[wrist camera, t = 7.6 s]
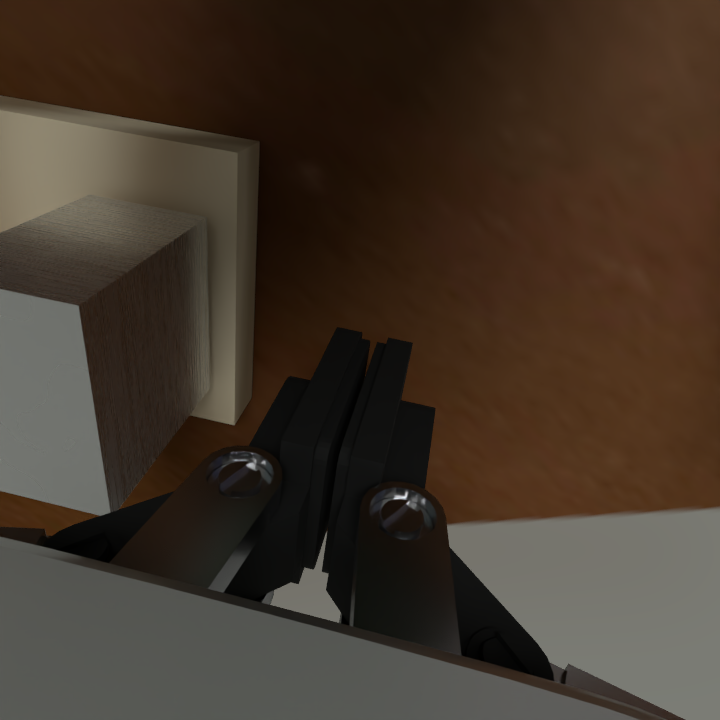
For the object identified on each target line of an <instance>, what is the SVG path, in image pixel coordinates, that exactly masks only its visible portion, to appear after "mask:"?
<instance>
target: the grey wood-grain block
mask: <svg viewBox="0 0 720 720" xmlns="http://www.w3.org/2000/svg"><path fill="white" fill-rule="evenodd" d="M209 389H210V365H209V307H208V249H207V217H204V216H199V215H193V214H188V213H183V212H178V211H173V210H167V209H162V208H157V207H152V206H146V205H141V204H136V203H131V202H126V201H120V200H115V199H110V198H105V197H100V196H94V195H87V196H85V197H83V198H80V199H78V200H76V201H73V202H71V203H69V204H66V205H64V206H62V207H59V208H57V209H55V210H52V211H50V212H48V213H45V214H43V215H41V216H38V217H36V218H34V219H31V220H29V221H27V222H24V223H22V224H20V225H17V226H15V227H13V228H10V229H8V230H6V231H3V232H1V233H0V491H3V492H7V493H11V494H15V495H19V496H23V497H27V498H31V499H35V500H39V501H43V502H48V503H52V504H56V505H60V506H64V507H68V508H72V509H76V510H80V511H84V512H88V513H92V514H96V515H100V516H102V515H105V514H108V513H111V512H114V511H117V510H118V509H119V508H120V506H121V505H122V504H123V502H124V501H125V500H126V498H127V497H128V496H129V494H130V493H131V492H132V490H133V489H134V488H135V487H136V485H137V484H138V483H139V481H140V480H141V479H142V477H143V476H144V475H145V473H146V472H147V471H148V469H149V468H150V467H151V465H152V464H153V463H154V461H155V460H156V459H157V457H158V456H159V455H160V454H161V452H162V451H163V450H164V448H165V447H166V446H167V444H168V443H169V442H170V440H171V439H172V438H173V436H174V435H175V434H176V432H177V431H178V430H179V428H180V427H181V426H182V424H183V423H184V422H185V421H186V419H187V418H188V417H189V415H190V414H191V413H192V411H193V410H194V409H195V407H196V406H197V405H198V403H199V402H200V401H201V399H202V398H203V397H204V395H205V394H206V393H207V391H208V390H209Z"/></svg>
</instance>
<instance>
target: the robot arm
mask: <svg viewBox="0 0 720 720" xmlns="http://www.w3.org/2000/svg"><path fill="white" fill-rule="evenodd" d="M412 344H413V343H411V342H406V341H401V340H397V339H392V338H388V340H387V343H386V344H384V343H379V342H377V345H376V348H375V350H374V353H373V356H372V359H371V362H370V365H369V368H368V371H367V374H366V376H365V372H366V366H367V360H368V353H369V347H370V341H369V340H365V339H362V332H358V331H353V330H349V329H344V328H339V327H337V329H336V331H335V333H334V335H333V337H332V339H331V341H330V343H329V345H328V347H327V349H326V351H325V353H324V355H323V357H322V359H321V361H320V363H319V365H318V367H317V369H316V371H315V373H314V375H313V377H312V379H311V381H310V380H306V379H301V378H297V377H292V376H290V377H288V378H287V380H286V381H285V383H284V385H283V386H282V388H281V390H280V392H279V393H278V395H277V397H276V399H275V400H274V402H273V404H272V406H271V408H270V409H269V411H268V413H267V415H266V416H265V418H264V420H263V422H262V423H261V425H260V427H259V429H258V430H257V432H256V434H255V436H254V438H253V439H252V441H251V443H250V445H249V446H231V447H226V448H222V449H220V450H218V451H216V452H213V453H212V454H210V455H209V456H208V457H207V458H205V459H204V460H203V461H202V462H201V463H200V464H199V465H198V466H197V468H196V469H195V470H194V471H193V472H192V473H191V474H190V475H189V476H188V477H187V478H186V479H185V481H184V482H183V483H182V484H181V485H180V486H179V487H178V488H177V489H176V490H175V491H174V492H171V493H168V494H165V495H162V496H159V497H156V498H153V499H150V500H147V501H144V502H141V503H138V504H135V505H132V506H129V507H126V508H123V509H120V510H117V511H114V512H111V513H108V514H105V515H102V516H99V517H95V518H92V519H89V520H86V521H83V522H80V523H77V524H74V525H72V526H70V527H68V528H65V529H63V530H61V531H59V532H57V533H56V534H55V535H53V536H46V533H45V529H39V528H17V527H0V720H685V719H683V718H680V717H678V716H676V715H674V714H672V713H670V712H668V711H666V710H664V709H662V708H660V707H658V706H655V705H653V704H651V703H649V702H647V701H645V700H643V699H641V698H639V697H637V696H635V695H632V694H630V693H628V692H626V691H624V690H622V689H620V688H618V687H616V686H614V685H612V684H610V683H607V682H605V681H603V680H601V679H599V678H597V677H595V676H593V675H591V674H589V673H587V672H585V671H582V670H580V669H578V668H576V667H574V666H572V665H570V664H568V665H567V667H566V668H565V670H564V669H562V668H560V667H558V666H556V665H554V664H551V663H549V661H548V658H547V656H546V655H545V654H544V652H543V651H542V649H541V648H540V647H539V645H538V644H537V643H536V642H535V640H534V639H533V638H532V637H531V636H530V635H529V634H528V633H527V632H526V631H525V629H523V627H522V626H521V625H520V624H519V623H518V622H517V621H516V620H515V619H514V617H513V616H512V615H511V614H510V613H509V612H508V611H507V610H506V609H505V607H504V606H503V605H502V604H501V603H500V602H499V601H498V600H497V599H496V598H495V597H494V595H492V593H491V592H490V591H489V590H488V589H487V588H486V587H485V586H484V584H483V583H482V582H481V581H480V580H479V579H478V578H477V577H476V576H475V575H474V573H472V571H471V570H470V569H469V568H468V567H467V566H466V565H465V564H464V563H463V561H462V560H461V559H460V558H459V557H458V556H457V555H456V554H455V553H454V552H453V551H452V549H451V548H450V547H449V540H448V533H447V523H446V516H445V513H444V510H443V507H442V506H441V504H440V503H439V502H438V500H437V499H436V498H435V497H434V496H433V495H432V494H430V493H429V492H428V491H427V490H425V483H426V475H427V468H428V461H429V453H430V446H431V438H432V431H433V423H434V416H435V408H434V407H429V406H424V405H420V404H415V403H411V402H406V401H402V400H401V398H402V393H403V388H404V383H405V378H406V373H407V369H408V364H409V359H410V354H411V349H412ZM364 378H365V379H364ZM328 524H329V525H328ZM327 527H328V532H327V539H326V546H325V553H324V560H323V567H322V572H325V573H329V576H328V582H327V588H326V590H327V592H328V594H329V595H330V597H331V598H332V600H333V601H334V603H335V604H336V606H337V607H338V609H339V610H340V612H341V615H340V621H339V623H337V622H333V621H329V620H325V619H322V618H318V617H314V616H310V615H306V614H302V613H299V612H294V611H291V610H287V609H283V608H280V607H276V606H272V605H270V604H271V601H272V598H273V595H274V590H275V589H277V588H280V587H282V586H284V585H286V584H288V583H290V582H292V583H296V584H299V581H300V578H301V575H302V572H303V570H304V567H306V568H310V569H314V568H315V565H316V562H317V559H318V556H319V553H320V549H321V546H322V543H323V540H324V537H325V534H326V531H327Z"/></svg>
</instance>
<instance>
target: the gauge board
mask: <svg viewBox="0 0 720 720" xmlns="http://www.w3.org/2000/svg"><path fill="white" fill-rule="evenodd" d="M259 150H260V141H255V140H249V139H243V138H238V137H232V136H227V135H221V134H215V133H210V132H204V131H198V130H193V129H187V128H181V127H176V126H170V125H165V124H159V123H153V122H148V121H142V120H136V119H131V118H125V117H119V116H114V115H108V114H102V113H97V112H91V111H86V110H80V109H74V108H69V107H63V106H57V105H52V104H46V103H40V102H35V101H29V100H23V99H18V98H12V97H7V96H1V95H0V233H1V232H3V231H6V230H8V229H10V228H13V227H15V226H17V225H20V224H22V223H24V222H27V221H29V220H31V219H34V218H36V217H38V216H41V215H43V214H45V213H48V212H50V211H52V210H55V209H57V208H59V207H62V206H64V205H66V204H69V203H71V202H73V201H76V200H78V199H80V198H83V197H85V196H87V195H94V196H100V197H105V198H110V199H115V200H120V201H126V202H131V203H136V204H141V205H146V206H152V207H157V208H162V209H167V210H173V211H178V212H183V213H188V214H193V215H199V216H204V217H207V249H208V307H209V365H210V389H209V390H208V391H207V393H206V394H205V395H204V397H203V398H202V399H201V401H200V402H199V403H198V405H197V406H196V407H195V409H194V410H193V411H192V413H191V414H190V415H191V416H195V417H200V418H204V419H209V420H213V421H217V422H222V423H226V424H231V425H235V424H236V422H237V420H238V419H239V417H240V416H241V414H242V412H243V411H244V409H245V408H246V406H247V404H248V403H249V401H250V400H251V398H252V373H253V341H254V309H255V277H256V245H257V214H258V182H259Z"/></svg>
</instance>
